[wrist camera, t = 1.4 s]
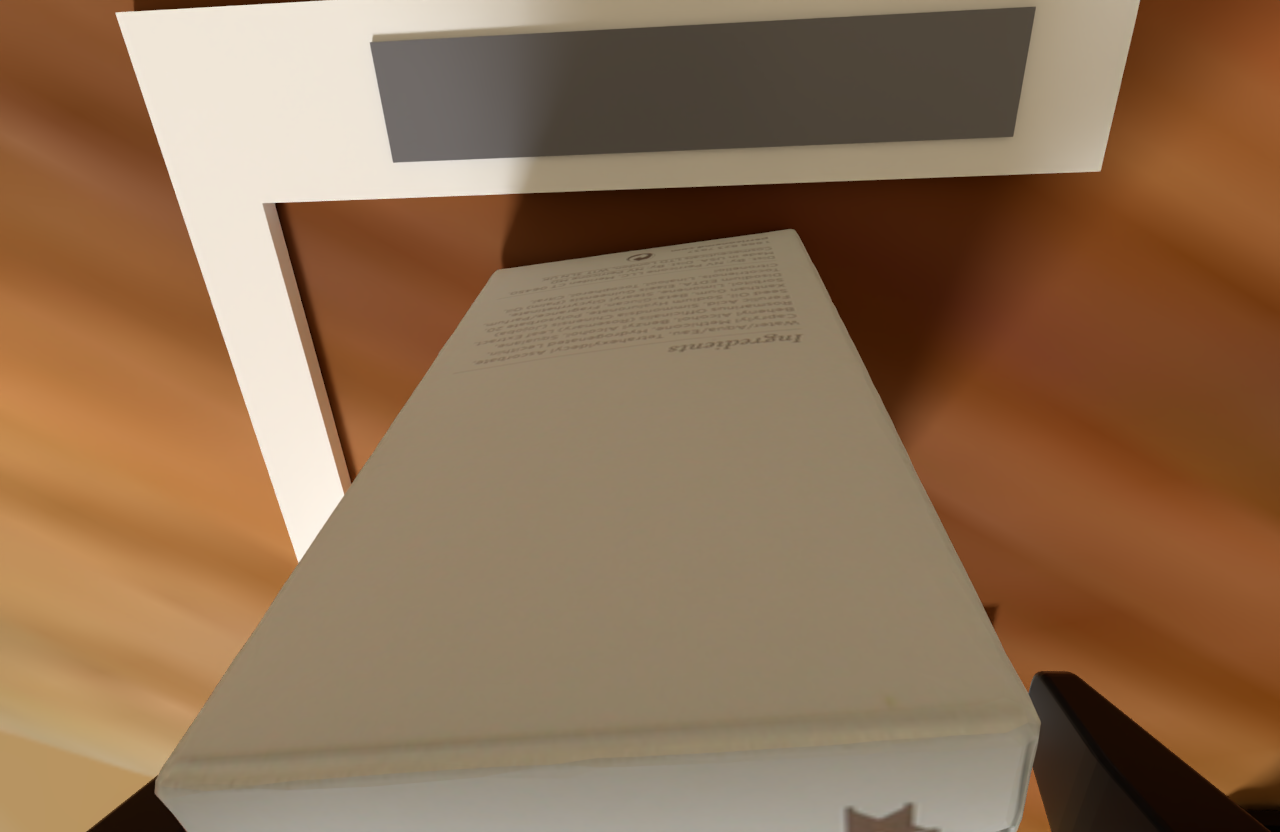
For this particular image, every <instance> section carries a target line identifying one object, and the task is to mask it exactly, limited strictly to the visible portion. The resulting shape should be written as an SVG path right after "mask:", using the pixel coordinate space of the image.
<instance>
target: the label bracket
mask: <svg viewBox="0 0 1280 832" xmlns="http://www.w3.org/2000/svg"><path fill="white" fill-rule="evenodd" d="M1139 3H1140V0H324V1H307V2H290V3H273V4H255V5H238V6H221V7H204V8H186V9H169V10H152V11H134V12H117V13H116V16H117V19H118V22H119V25H120V28H121V31H122V34H123V37H124V40H125V43H126V46H127V49H128V52H129V55H130V58H131V61H132V64H133V67H134V70H135V73H136V76H137V79H138V82H139V85H140V88H141V91H142V94H143V97H144V100H145V103H146V106H147V109H148V112H149V115H150V118H151V121H152V124H153V127H154V130H155V133H156V136H157V139H158V142H159V145H160V148H161V151H162V154H163V157H164V160H165V163H166V166H167V169H168V172H169V175H170V178H171V181H172V184H173V187H174V190H175V193H176V196H177V199H178V202H179V205H180V208H181V211H182V214H183V217H184V220H185V223H186V226H187V229H188V232H189V235H190V238H191V241H192V244H193V247H194V250H195V253H196V256H197V259H198V262H199V265H200V268H201V271H202V274H203V277H204V280H205V283H206V286H207V289H208V292H209V295H210V298H211V301H212V304H213V307H214V310H215V313H216V316H217V319H218V322H219V325H220V328H221V331H222V334H223V337H224V340H225V343H226V346H227V349H228V352H229V355H230V358H231V361H232V364H233V367H234V370H235V373H236V376H237V379H238V382H239V385H240V388H241V391H242V394H243V397H244V400H245V403H246V406H247V409H248V412H249V415H250V418H251V421H252V424H253V427H254V430H255V433H256V436H257V439H258V442H259V445H260V448H261V451H262V454H263V457H264V460H265V463H266V466H267V469H268V472H269V475H270V478H271V481H272V484H273V487H274V490H275V493H276V496H277V499H278V502H279V505H280V508H281V511H282V514H283V517H284V520H285V523H286V526H287V529H288V532H289V535H290V538H291V541H292V544H293V547H294V550H295V553H296V556H297V559H298V562H300V560H301V559H302V557H303V556H304V554H305V553H306V551H307V550H308V548H309V547H310V545H311V544H312V542H313V541H314V539H315V538H316V536H317V535H318V533H319V532H320V530H321V529H322V527H323V526H324V524H325V523H326V521H327V520H328V518H329V517H330V515H331V514H332V512H333V511H334V509H335V508H336V506H337V505H338V503H339V502H340V501H341V499H342V498H343V496H344V495H345V493H346V492H347V490H348V489H349V487H350V486H351V480H350V477H349V473H348V469H347V466H346V462H345V458H344V455H343V451H342V448H341V444H340V440H339V437H338V433H337V429H336V426H335V422H334V418H333V415H332V411H331V407H330V404H329V400H328V396H327V393H326V389H325V385H324V382H323V378H322V374H321V371H320V367H319V364H318V360H317V356H316V353H315V349H314V345H313V342H312V338H311V334H310V331H309V327H308V323H307V320H306V316H305V312H304V309H303V305H302V301H301V298H300V294H299V291H298V287H297V283H296V280H295V276H294V272H293V269H292V265H291V261H290V258H289V254H288V250H287V247H286V243H285V239H284V236H283V232H282V228H281V225H280V221H279V218H278V214H277V210H276V207H275V203H283V202H309V201H335V200H362V199H388V198H414V197H440V196H467V195H493V194H519V193H545V192H572V191H598V190H624V189H650V188H677V187H703V186H729V185H755V184H781V183H808V182H834V181H860V180H886V179H913V178H939V177H965V176H991V175H1018V174H1044V173H1070V172H1096V171H1101V167H1102V163H1103V158H1104V154H1105V150H1106V146H1107V141H1108V137H1109V133H1110V128H1111V124H1112V120H1113V115H1114V111H1115V107H1116V102H1117V98H1118V94H1119V90H1120V85H1121V81H1122V77H1123V72H1124V68H1125V64H1126V59H1127V55H1128V51H1129V46H1130V42H1131V38H1132V34H1133V29H1134V25H1135V21H1136V16H1137V12H1138V8H1139Z"/></svg>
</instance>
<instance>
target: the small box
mask: <svg viewBox="0 0 1280 832" xmlns="http://www.w3.org/2000/svg"><path fill="white" fill-rule="evenodd" d="M1040 725H1041V721H1040V719H1039V717H1038V714H1037V712H1036V710H1035V708H1034V705H1033V703H1032V701H1031V699H1030V696H1029V694H1028V692H1027V690H1026V688H1025V687H1024V685H1023V683H1022V681H1021V680H1020V678H1019V676H1018V674H1017V673H1016V671H1015V669H1014V667H1013V665H1012V664H1011V662H1010V660H1009V658H1008V657H1007V655H1006V653H1005V651H1004V649H1003V647H1002V645H1001V642H1000V640H999V638H998V636H997V634H996V632H995V630H994V628H993V626H992V624H991V622H990V620H989V618H988V616H987V613H986V611H985V609H984V607H983V605H982V603H981V601H980V599H979V597H978V595H977V593H976V591H975V589H974V587H973V585H972V583H971V581H970V579H969V577H968V575H967V573H966V571H965V569H964V567H963V565H962V563H961V561H960V559H959V557H958V555H957V553H956V551H955V549H954V547H953V545H952V543H951V541H950V539H949V537H948V535H947V533H946V531H945V529H944V527H943V525H942V523H941V521H940V519H939V517H938V515H937V513H936V511H935V509H934V507H933V505H932V503H931V501H930V499H929V497H928V495H927V493H926V491H925V489H924V487H923V485H922V483H921V481H920V479H919V477H918V475H917V473H916V471H915V469H914V467H913V465H912V463H911V460H910V458H909V456H908V454H907V451H906V449H905V447H904V445H903V443H902V441H901V440H900V438H899V436H898V434H897V431H896V429H895V427H894V424H893V422H892V420H891V418H890V416H889V414H888V412H887V410H886V408H885V406H884V404H883V402H882V400H881V398H880V396H879V394H878V392H877V390H876V388H875V387H874V385H873V383H872V380H871V378H870V376H869V374H868V371H867V369H866V367H865V365H864V363H863V361H862V359H861V357H860V355H859V353H858V351H857V349H856V347H855V345H854V343H853V341H852V340H851V338H850V336H849V334H848V331H847V329H846V327H845V325H844V323H843V321H842V320H841V318H840V316H839V314H838V311H837V309H836V307H835V306H834V304H833V302H832V300H831V298H830V296H829V294H828V292H827V290H826V288H825V286H824V284H823V282H822V280H821V278H820V276H819V273H818V271H817V269H816V268H815V266H814V264H813V263H812V261H811V259H810V257H809V255H808V253H807V251H806V249H805V247H804V245H803V243H802V241H801V239H800V237H799V235H798V234H797V232H796V231H795V230H794V229H786V230H779V231H773V232H766V233H760V234H752V235H745V236H737V237H730V238H722V239H715V240H708V241H701V242H694V243H686V244H679V245H672V246H665V247H657V248H650V249H643V250H635V251H628V252H621V253H613V254H606V255H600V256H593V257H586V258H579V259H572V260H564V261H557V262H550V263H542V264H535V265H529V266H522V267H515V268H506V269H500V270H497V271H496V272H495V273H494V274H493V275H492V276H491V277H490V279H489V281H488V282H487V284H486V285H485V287H484V288H483V290H482V291H481V293H480V294H479V295H478V297H477V298H476V300H475V301H474V303H473V304H472V306H471V307H470V309H469V310H468V312H467V313H466V315H465V316H464V317H463V319H462V320H461V322H460V323H459V325H458V327H457V328H456V330H455V331H454V333H453V334H452V336H451V337H450V338H449V340H448V341H447V342H446V344H445V345H444V347H443V348H442V349H441V351H440V353H439V354H438V356H437V358H436V359H435V361H434V362H433V364H432V365H431V367H430V368H429V370H428V371H427V373H426V374H425V376H424V377H423V379H422V380H421V382H420V383H419V385H418V386H417V387H416V389H415V391H414V392H413V394H412V395H411V397H410V398H409V400H408V401H407V402H406V404H405V405H404V407H403V408H402V410H401V411H400V413H399V414H398V415H397V417H396V418H395V420H394V421H393V423H392V424H391V426H390V428H389V429H388V431H387V433H386V434H385V435H384V437H383V438H382V440H381V441H380V443H379V444H378V446H377V447H376V449H375V450H374V452H373V454H372V455H371V456H370V458H369V459H368V461H367V462H366V463H365V465H364V466H363V468H362V469H361V471H360V472H359V474H358V475H357V477H356V478H355V480H354V481H353V483H352V484H351V486H350V487H349V489H348V490H347V492H346V493H345V495H344V496H343V498H342V499H341V501H340V502H339V503H338V505H337V506H336V508H335V509H334V511H333V512H332V514H331V515H330V517H329V518H328V520H327V521H326V523H325V524H324V526H323V527H322V529H321V530H320V532H319V533H318V535H317V536H316V538H315V539H314V541H313V542H312V544H311V545H310V547H309V548H308V550H307V551H306V553H305V554H304V556H303V557H302V559H301V560H300V562H299V563H298V565H297V566H296V568H295V569H294V571H293V572H292V574H291V575H290V577H289V578H288V580H287V581H286V583H285V584H284V586H283V587H282V589H281V590H280V592H279V593H278V595H277V596H276V598H275V599H274V601H273V603H272V604H271V606H270V607H269V609H268V610H267V612H266V614H265V615H264V617H263V618H262V620H261V621H260V623H259V624H258V626H257V628H256V629H255V631H254V632H253V633H252V635H251V636H250V638H249V639H248V640H247V642H246V643H245V645H244V646H243V647H242V649H241V650H240V652H239V653H238V654H237V656H236V657H235V659H234V660H233V662H232V663H231V665H230V666H229V668H228V669H227V671H226V672H225V674H224V675H223V677H222V679H221V680H220V682H219V683H218V685H217V686H216V688H215V689H214V691H213V692H212V694H211V695H210V697H209V698H208V700H207V702H206V703H205V705H204V706H203V708H202V709H201V711H200V712H199V714H198V715H197V717H196V718H195V720H194V721H193V723H192V724H191V726H190V727H189V729H188V730H187V732H186V733H185V735H184V736H183V738H182V739H181V740H180V742H179V743H178V745H177V746H176V748H175V749H174V751H173V752H172V754H171V755H170V757H169V758H168V760H167V761H166V763H165V764H164V766H163V767H162V769H161V771H160V773H159V775H158V777H157V779H156V781H155V795H156V796H157V797H158V798H159V799H160V800H161V801H162V802H163V803H164V805H165V806H166V807H167V808H168V809H169V810H170V811H171V812H172V813H173V815H174V816H175V817H176V819H177V820H178V821H179V823H180V824H181V825H182V826H183V828H184V829H185V831H186V832H1016V831H1017V829H1018V827H1019V824H1020V822H1021V819H1022V816H1023V811H1024V805H1025V800H1026V795H1027V790H1028V785H1029V779H1030V775H1031V770H1032V766H1033V762H1034V758H1035V754H1036V750H1037V746H1038V739H1039V732H1040Z"/></svg>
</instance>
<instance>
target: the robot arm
mask: <svg viewBox="0 0 1280 832" xmlns="http://www.w3.org/2000/svg"><path fill="white" fill-rule="evenodd" d="M1028 694H1029V696H1030V699H1031V701H1032V703H1033V705H1034V708H1035V710H1036V712H1037V714H1038V717H1039V719H1040V721H1041V725H1040V732H1039V739H1038V746H1037V750H1036V754H1035V758H1034V762H1033V766H1032V767H1033V770H1034V774H1035V777H1036V780H1037V784H1038V787H1039V791H1040V794H1041V797H1042V801H1043V804H1044V808H1045V811H1046V814H1047V818H1048V821H1049V825H1050V828H1051V832H1280V811H1252V810H1243V809H1242V808H1241V807H1240V806H1238V805H1237V804H1236V803H1235V802H1234V801H1232V800H1231V799H1230V798H1229V797H1227V796H1226V795H1225V794H1224V793H1222V792H1221V791H1220V790H1219V789H1217V788H1216V787H1215V786H1214V785H1212V784H1211V783H1210V782H1209V781H1207V780H1206V779H1205V778H1204V777H1202V776H1201V775H1200V774H1199V773H1198V772H1196V771H1195V770H1194V769H1193V768H1191V767H1190V766H1189V765H1188V764H1186V763H1185V762H1184V761H1183V760H1181V759H1180V758H1179V757H1178V756H1176V755H1175V754H1174V753H1173V752H1171V751H1170V750H1169V749H1168V748H1166V747H1165V746H1164V745H1163V744H1161V743H1160V742H1159V741H1158V740H1157V739H1155V738H1154V737H1153V736H1152V735H1150V734H1149V733H1148V732H1147V731H1145V730H1144V729H1143V728H1142V727H1140V726H1139V725H1138V724H1137V723H1135V722H1134V721H1133V720H1132V719H1130V718H1129V717H1128V716H1127V715H1125V714H1124V713H1123V712H1122V711H1121V710H1119V709H1118V708H1117V707H1116V706H1114V705H1113V704H1112V703H1111V702H1109V701H1108V700H1107V699H1106V698H1104V697H1103V696H1102V695H1101V694H1099V693H1098V692H1097V691H1096V690H1094V689H1093V688H1092V687H1091V686H1089V685H1088V684H1087V683H1086V682H1085V681H1083V680H1082V679H1081V678H1080V677H1078V676H1077V675H1075V674H1073V673H1071V672H1065V671H1041V672H1038V673H1036V674H1035V675H1034V677H1033V679H1032V682H1031V686H1030V690H1029V693H1028ZM157 777H158V775H157V776H156V777H155V778H154V779H152V780H151V781H150V782H149V783H147V784H146V785H145V786H144V787H142V788H141V789H140V790H138V791H137V792H136V793H135V794H133V795H132V796H131V797H130V798H128V799H127V800H126V801H125V802H123V803H122V804H121V805H119V806H118V807H117V808H116V809H114V810H113V811H112V812H111V813H109V814H108V815H107V816H106V817H104V818H103V819H102V820H101V821H99V822H98V823H97V824H95V825H94V826H93V827H92V828H91V829H89V830H88V831H87V832H186V831H185V829H184V828H183V826H182V825H181V824H180V823H179V821H178V820H177V819H176V817H175V816H174V815H173V813H172V812H171V811H170V810H169V809H168V808H167V807H166V806H165V805H164V803H163V802H162V801H161V800H160V799H159V798H158V797H157V796H156V795H155V781H156V779H157Z"/></svg>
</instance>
